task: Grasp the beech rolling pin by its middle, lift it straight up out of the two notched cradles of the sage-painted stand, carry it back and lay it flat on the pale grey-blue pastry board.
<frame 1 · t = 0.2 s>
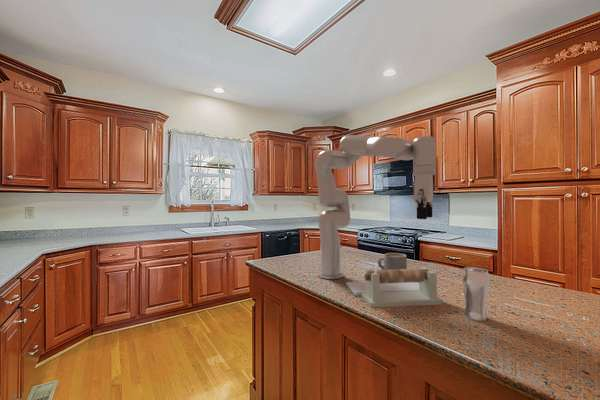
hand: (424, 218, 101), 30 cm above the counter, tool pointing down, fingers open, 9 cm apart
beer glass: (475, 317, 87), on the counter
pin stand: (400, 300, 101), on the counter
rolling pin: (400, 282, 101), point 7 cm above the counter, touching pin stand
pastry board: (386, 288, 114), on the counter
coffee mug: (392, 275, 134), on the counter
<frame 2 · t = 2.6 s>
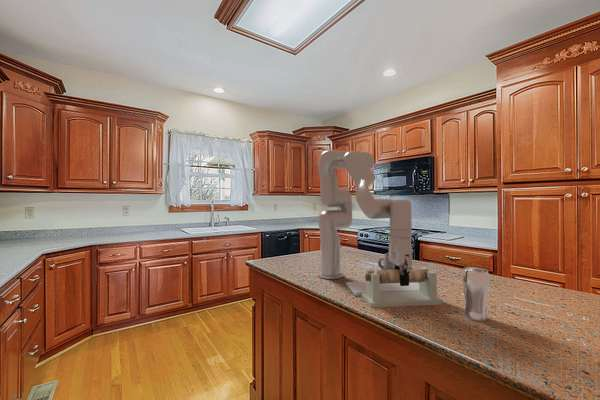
hand: (400, 282, 101), 7 cm above the counter, tool pointing down, fingers closed on rolling pin, 4 cm apart
rolling pin: (399, 281, 102), point 7 cm above the counter, tilted 22°, touching gripper, pin stand
everything else where it was.
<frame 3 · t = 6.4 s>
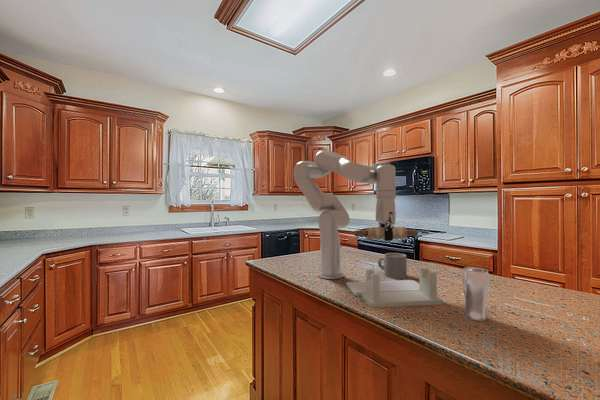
hand: (385, 239, 114), 21 cm above the counter, tool pointing down, fingers closed on rolling pin, 4 cm apart
rolling pin: (385, 238, 115), point 21 cm above the counter, tilted 23°, touching gripper
everything else where it was.
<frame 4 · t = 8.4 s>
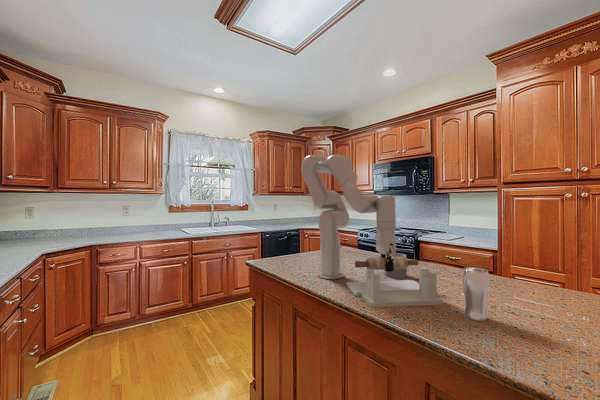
hand: (386, 269, 114), 8 cm above the counter, tool pointing down, fingers closed on rolling pin, 4 cm apart
rolling pin: (385, 268, 115), point 8 cm above the counter, tilted 22°, touching gripper
everything else where it was.
when the fingers open (3 cm above the counter, at t = 10.0 s): rolling pin drops 1 cm, resting on pastry board.
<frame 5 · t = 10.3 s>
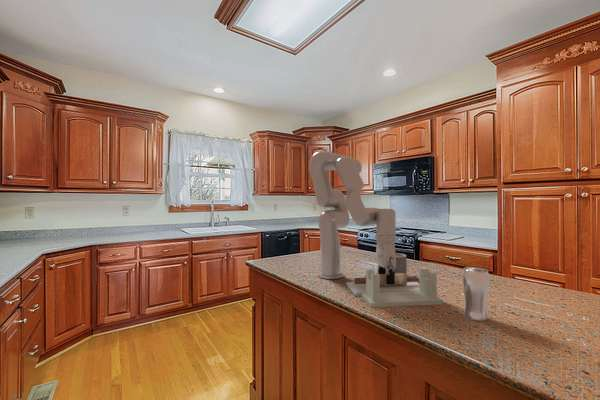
hand: (386, 280, 114), 3 cm above the counter, tool pointing down, fingers open, 8 cm apart
rolling pin: (384, 284, 115), point 1 cm above the counter, tilted 23°, touching pastry board
everything else where it was.
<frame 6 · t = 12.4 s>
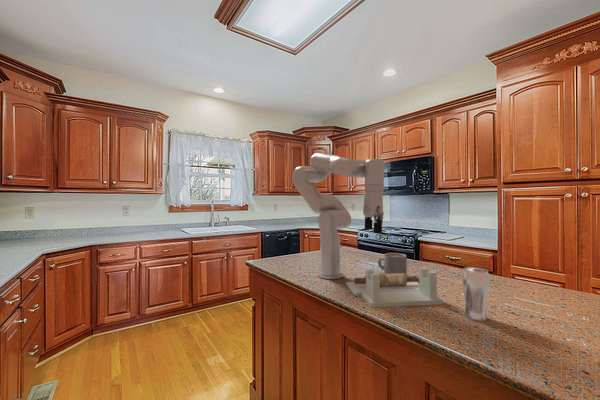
hand: (372, 230, 114), 24 cm above the counter, tool pointing down, fingers open, 9 cm apart
nothing on the counter moved.
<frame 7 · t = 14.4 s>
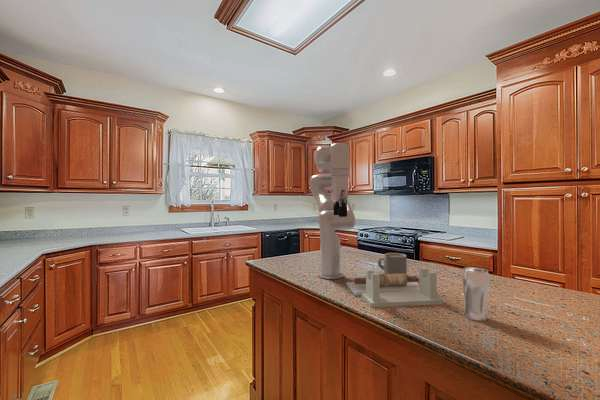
hand: (340, 215, 113), 30 cm above the counter, tool pointing down, fingers open, 9 cm apart
nothing on the counter moved.
at the end: rolling pin inside the target area on the pastry board (1.0 cm from its centre), point 1.4 cm above the pastry board's base; rolling pin touching pastry board; the gripper is holding nothing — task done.
